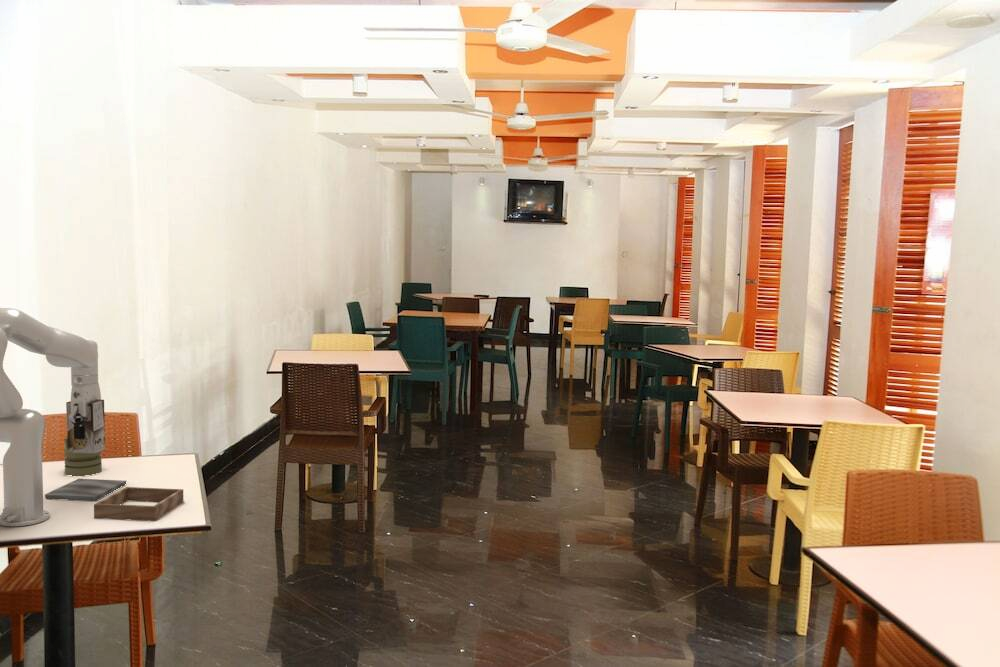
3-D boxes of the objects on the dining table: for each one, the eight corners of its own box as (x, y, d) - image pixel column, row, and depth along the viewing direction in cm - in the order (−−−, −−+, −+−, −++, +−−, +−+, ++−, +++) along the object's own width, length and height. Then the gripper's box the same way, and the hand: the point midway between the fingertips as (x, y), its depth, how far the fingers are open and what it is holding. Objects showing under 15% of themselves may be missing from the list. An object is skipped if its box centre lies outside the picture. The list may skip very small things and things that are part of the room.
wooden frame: (155, 520, 229) (155, 507, 229) (94, 518, 230) (93, 504, 230) (183, 502, 247) (183, 489, 247) (126, 499, 248) (126, 486, 248)
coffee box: (106, 449, 257) (105, 399, 255) (94, 454, 250) (93, 402, 249) (79, 447, 258) (78, 398, 256) (66, 452, 251) (65, 401, 250)
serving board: (95, 501, 246) (95, 496, 246) (45, 499, 247) (44, 494, 246) (126, 485, 264) (126, 480, 263) (78, 483, 264) (78, 478, 264)
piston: (92, 433, 285) (106, 438, 277) (93, 466, 286) (107, 472, 278) (58, 437, 276) (72, 443, 269) (59, 472, 277) (73, 478, 270)
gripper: (80, 384, 243) (82, 442, 245) (111, 376, 260) (112, 430, 262) (56, 383, 243) (58, 442, 245) (88, 375, 261) (89, 429, 262)
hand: (86, 435), depth 254 cm, fingers closed on coffee box, 6 cm apart
